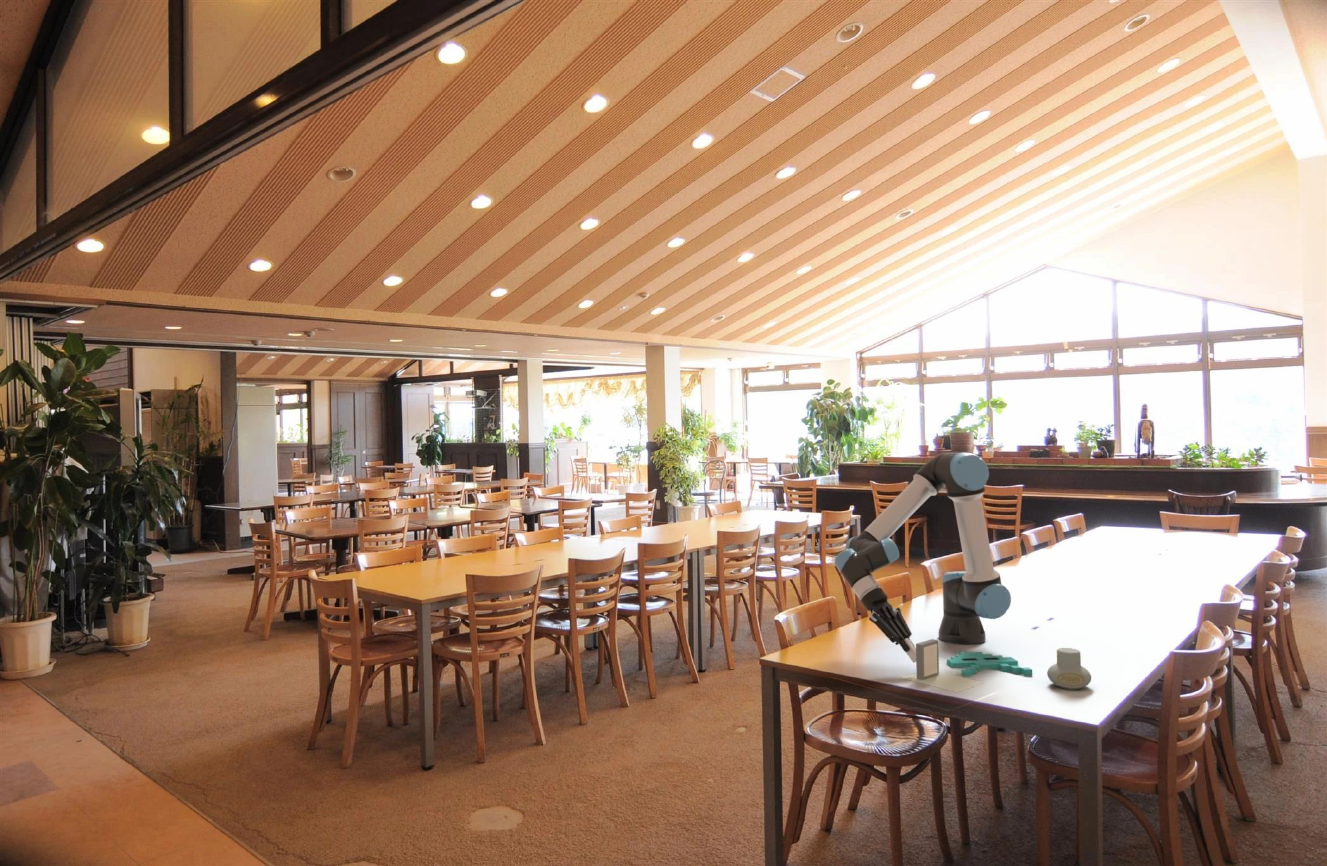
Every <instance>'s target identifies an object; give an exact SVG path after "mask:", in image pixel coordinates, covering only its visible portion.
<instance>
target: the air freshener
mask: <svg viewBox="0 0 1327 866" xmlns="http://www.w3.org/2000/svg"><path fill="white" fill-rule="evenodd" d="M1081 657H1082V656H1081V651H1080V650H1078V649H1076V648H1073V647H1071V648H1070V647H1060V648H1057V649H1056V663H1054V664H1052V665H1050V666H1049V668H1048V670H1047V672H1046V675H1047V678H1048V679H1049V681H1050V682H1051V683H1052V684H1054V685H1056V686H1057V687H1060V688H1062V689H1065V690H1070V691H1071V690H1080V689H1082V688H1085V687H1087V686H1088V685H1089V684H1090V683H1091V681H1092V675H1091V673H1090V671H1089V670H1088V669H1086V668H1085V667H1084V666H1083V665H1081V659H1082V658H1081Z"/></svg>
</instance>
